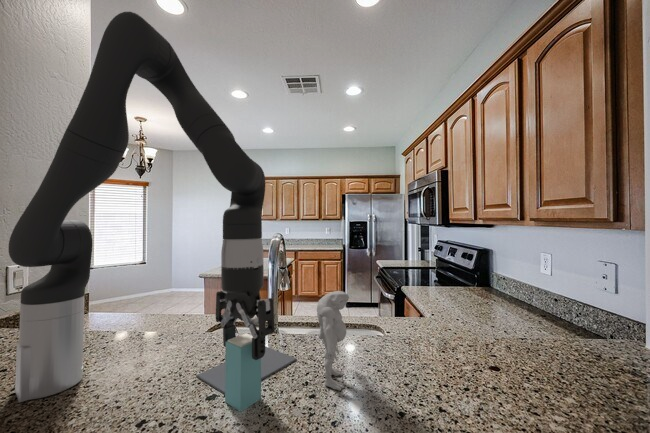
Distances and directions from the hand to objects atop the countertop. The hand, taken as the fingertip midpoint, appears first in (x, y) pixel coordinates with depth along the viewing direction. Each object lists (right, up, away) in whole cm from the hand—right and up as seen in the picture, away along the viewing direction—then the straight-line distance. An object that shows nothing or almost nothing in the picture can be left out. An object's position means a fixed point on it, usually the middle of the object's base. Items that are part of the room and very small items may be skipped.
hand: (243, 351), depth 51 cm
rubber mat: (-2, -9, +11) cm, 14 cm away
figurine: (+17, -9, +6) cm, 20 cm away
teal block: (0, -9, -1) cm, 9 cm away
